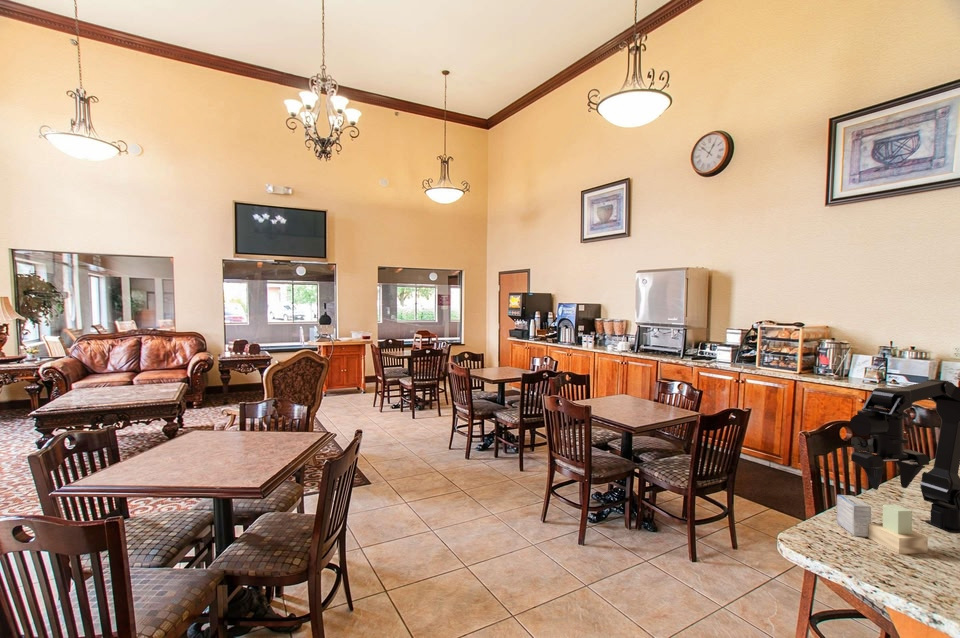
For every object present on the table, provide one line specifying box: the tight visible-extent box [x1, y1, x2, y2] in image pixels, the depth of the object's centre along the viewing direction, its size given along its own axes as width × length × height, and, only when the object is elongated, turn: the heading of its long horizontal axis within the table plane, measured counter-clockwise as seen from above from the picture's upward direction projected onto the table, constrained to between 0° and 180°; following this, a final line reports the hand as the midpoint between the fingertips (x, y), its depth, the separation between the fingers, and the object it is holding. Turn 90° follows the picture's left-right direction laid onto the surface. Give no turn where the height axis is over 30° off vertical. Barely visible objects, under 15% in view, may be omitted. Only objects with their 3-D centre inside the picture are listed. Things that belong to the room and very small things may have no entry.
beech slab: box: [868, 522, 929, 555], centre depth 116 cm, size 8×8×4 cm
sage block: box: [882, 504, 913, 534], centre depth 116 cm, size 4×4×6 cm
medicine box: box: [836, 494, 872, 538], centre depth 124 cm, size 8×4×9 cm, turn 168°
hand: (889, 488), depth 123 cm, fingers open, 9 cm apart
